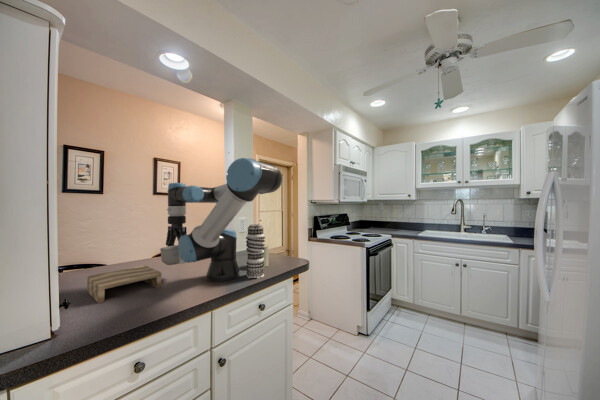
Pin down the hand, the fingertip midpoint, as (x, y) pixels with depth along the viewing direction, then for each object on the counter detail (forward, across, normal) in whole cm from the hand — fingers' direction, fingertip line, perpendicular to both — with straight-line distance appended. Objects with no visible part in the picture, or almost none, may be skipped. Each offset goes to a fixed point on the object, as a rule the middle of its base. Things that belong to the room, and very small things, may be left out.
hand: (176, 262), depth 105 cm
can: (+8, +15, +39) cm, 43 cm away
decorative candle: (+8, +27, +25) cm, 38 cm away
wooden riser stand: (+8, -3, -19) cm, 21 cm away
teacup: (+1, -1, 0) cm, 1 cm away
